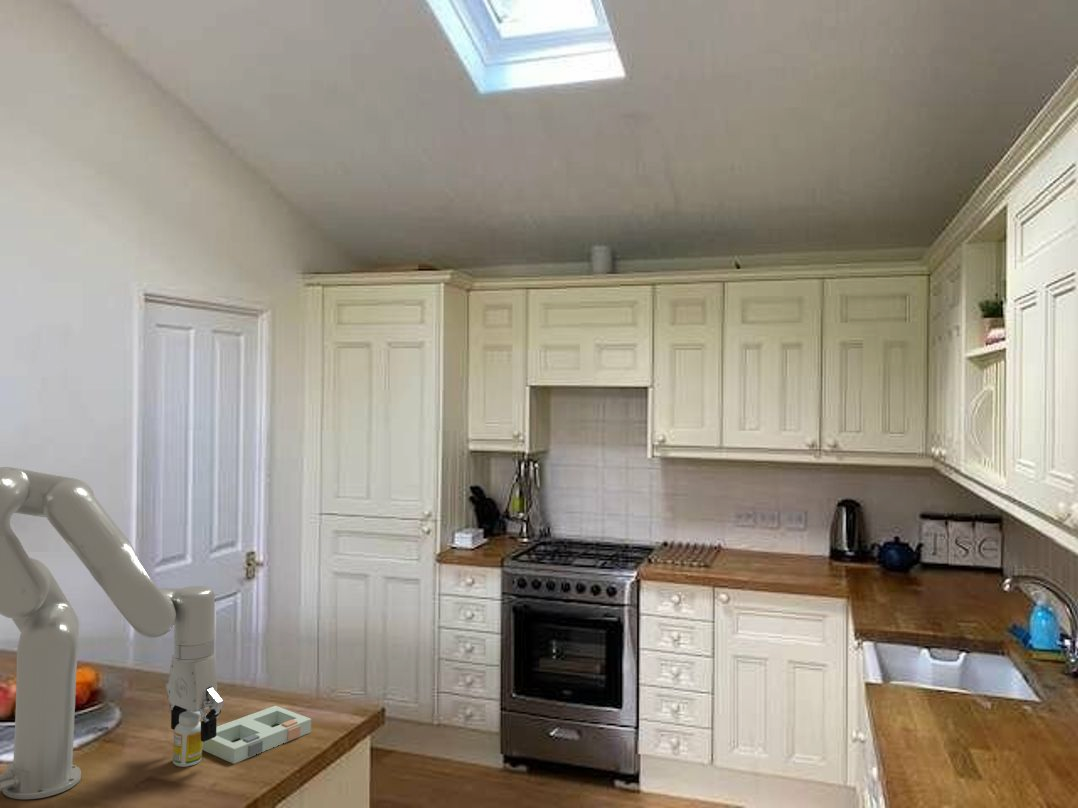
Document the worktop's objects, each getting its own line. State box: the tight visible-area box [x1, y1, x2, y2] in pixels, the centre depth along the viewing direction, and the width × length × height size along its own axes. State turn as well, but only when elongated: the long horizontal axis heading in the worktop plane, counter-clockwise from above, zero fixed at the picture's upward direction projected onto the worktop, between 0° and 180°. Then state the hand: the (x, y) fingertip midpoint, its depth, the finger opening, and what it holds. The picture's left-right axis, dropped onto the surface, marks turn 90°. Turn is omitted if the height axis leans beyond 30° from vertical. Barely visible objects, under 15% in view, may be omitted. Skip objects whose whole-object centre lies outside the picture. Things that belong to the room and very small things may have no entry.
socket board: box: [202, 705, 312, 764], centre depth 176 cm, size 20×12×3 cm, turn 147°
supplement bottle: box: [172, 710, 203, 768], centre depth 164 cm, size 5×5×10 cm
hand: (193, 733), depth 165 cm, fingers open, 9 cm apart
